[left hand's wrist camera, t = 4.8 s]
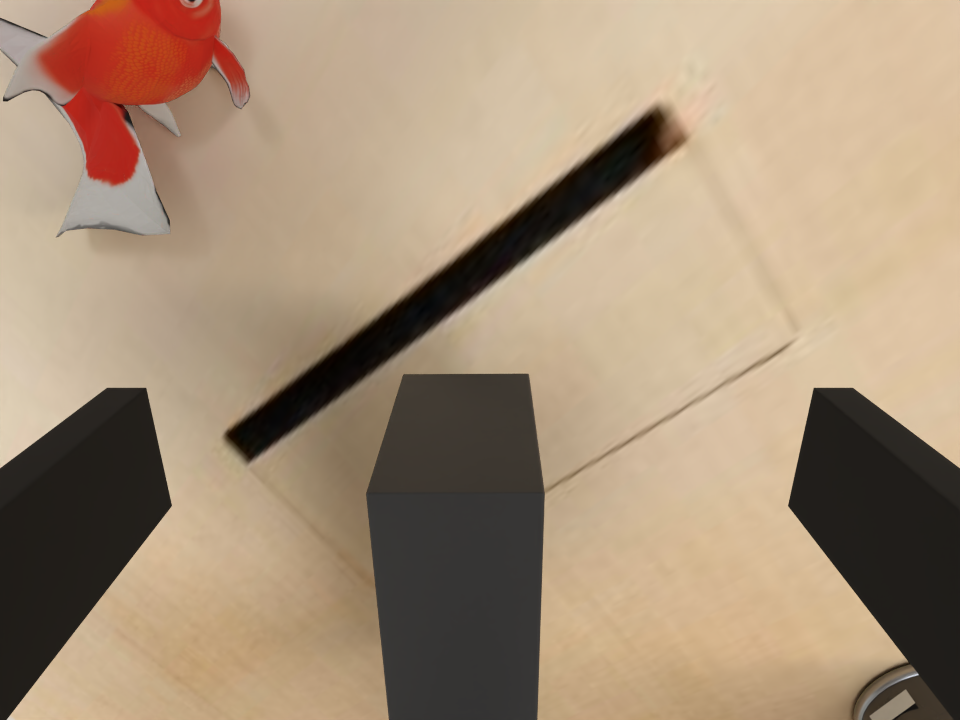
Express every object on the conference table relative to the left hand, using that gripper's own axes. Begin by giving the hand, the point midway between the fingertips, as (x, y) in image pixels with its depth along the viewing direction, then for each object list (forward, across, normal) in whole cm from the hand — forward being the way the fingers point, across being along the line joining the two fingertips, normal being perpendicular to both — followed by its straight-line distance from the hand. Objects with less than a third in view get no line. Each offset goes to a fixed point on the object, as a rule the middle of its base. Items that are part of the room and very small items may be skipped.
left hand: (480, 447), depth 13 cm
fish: (+23, -16, +6) cm, 29 cm away
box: (+16, 0, -17) cm, 23 cm away
